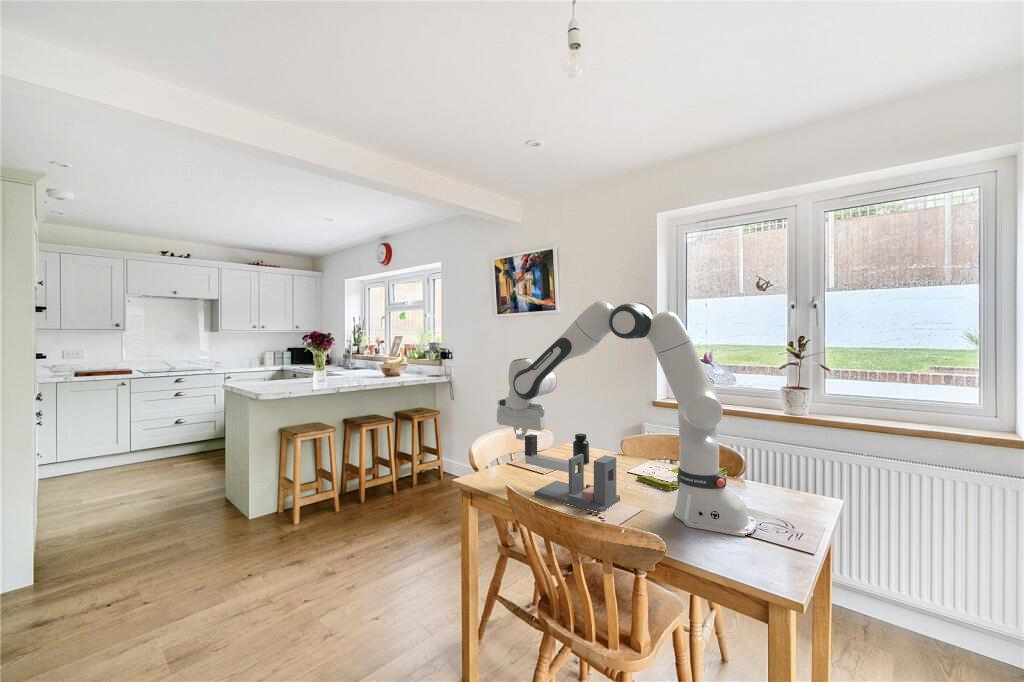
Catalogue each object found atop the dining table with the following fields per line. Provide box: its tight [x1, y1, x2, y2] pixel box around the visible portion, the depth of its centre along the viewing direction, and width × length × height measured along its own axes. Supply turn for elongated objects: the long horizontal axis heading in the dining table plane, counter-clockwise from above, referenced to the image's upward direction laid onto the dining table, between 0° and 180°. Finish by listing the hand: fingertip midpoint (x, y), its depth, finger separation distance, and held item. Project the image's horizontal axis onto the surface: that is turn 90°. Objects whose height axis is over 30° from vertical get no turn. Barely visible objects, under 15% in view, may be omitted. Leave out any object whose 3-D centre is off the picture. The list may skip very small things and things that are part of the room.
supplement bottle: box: [572, 433, 590, 465], centre depth 192 cm, size 7×7×12 cm
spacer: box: [582, 486, 594, 502], centre depth 148 cm, size 4×6×2 cm, turn 140°
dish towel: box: [636, 466, 729, 493], centre depth 172 cm, size 15×36×3 cm, turn 123°
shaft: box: [524, 433, 569, 474], centre depth 158 cm, size 19×4×10 cm, turn 52°
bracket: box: [534, 454, 621, 513], centre depth 151 cm, size 25×14×15 cm, turn 52°
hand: (520, 439), depth 165 cm, fingers closed
